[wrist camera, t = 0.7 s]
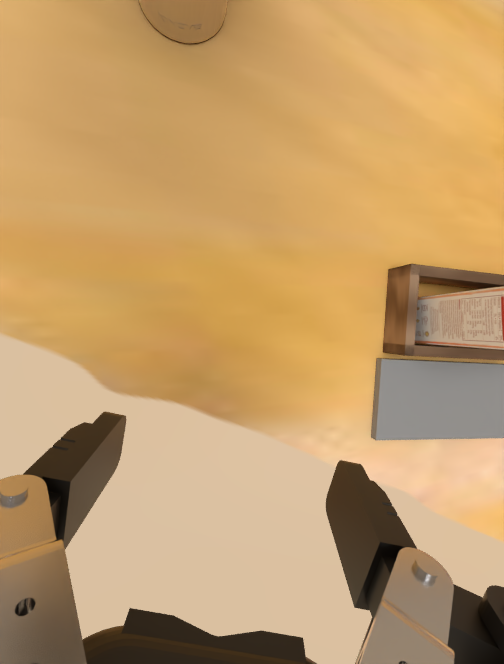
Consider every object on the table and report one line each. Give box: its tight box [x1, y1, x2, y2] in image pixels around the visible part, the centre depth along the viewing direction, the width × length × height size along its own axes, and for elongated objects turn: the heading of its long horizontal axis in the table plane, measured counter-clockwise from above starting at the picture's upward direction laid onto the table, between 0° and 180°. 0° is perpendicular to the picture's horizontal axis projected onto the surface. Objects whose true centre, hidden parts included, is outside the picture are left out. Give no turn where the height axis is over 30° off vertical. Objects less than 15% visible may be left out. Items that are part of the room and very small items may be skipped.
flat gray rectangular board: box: [371, 358, 504, 440], centre depth 42 cm, size 10×20×1 cm, turn 86°
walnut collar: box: [383, 264, 504, 360], centre depth 40 cm, size 10×18×4 cm, turn 86°
